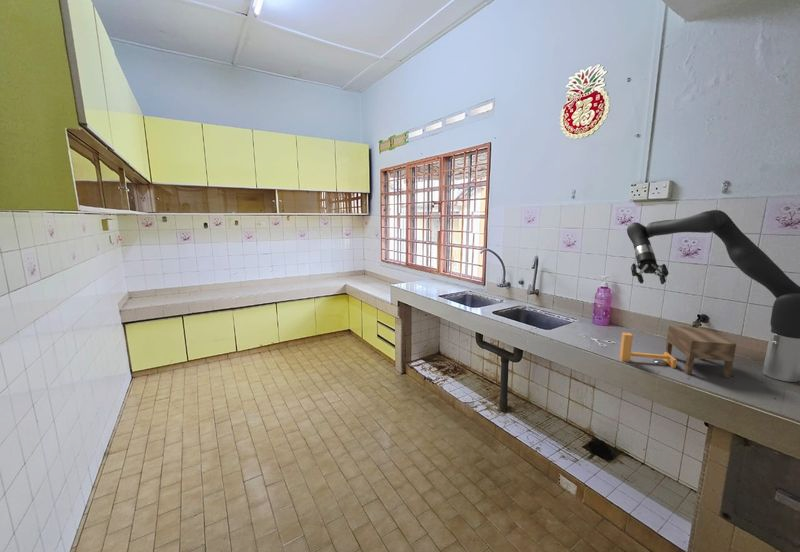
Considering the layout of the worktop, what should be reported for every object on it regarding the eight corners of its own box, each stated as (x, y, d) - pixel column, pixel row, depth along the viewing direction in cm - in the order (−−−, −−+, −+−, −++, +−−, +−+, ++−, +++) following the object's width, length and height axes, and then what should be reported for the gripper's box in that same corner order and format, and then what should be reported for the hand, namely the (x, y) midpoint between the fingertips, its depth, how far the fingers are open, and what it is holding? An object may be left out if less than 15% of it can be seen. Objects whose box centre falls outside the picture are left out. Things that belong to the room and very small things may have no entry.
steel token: (660, 360, 144) (660, 358, 144) (670, 365, 139) (670, 363, 139) (649, 361, 143) (649, 359, 143) (659, 366, 138) (660, 364, 138)
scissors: (607, 347, 157) (568, 334, 174) (607, 349, 157) (568, 335, 174) (620, 343, 162) (581, 330, 179) (619, 344, 162) (581, 332, 179)
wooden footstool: (702, 358, 144) (707, 328, 142) (730, 378, 127) (736, 344, 125) (664, 355, 148) (668, 325, 145) (686, 374, 131) (691, 341, 128)
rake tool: (666, 359, 144) (669, 333, 141) (675, 368, 136) (679, 340, 134) (617, 355, 149) (620, 330, 146) (623, 363, 141) (627, 337, 139)
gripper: (631, 250, 163) (638, 278, 154) (665, 251, 159) (674, 279, 150) (626, 260, 169) (632, 286, 160) (658, 260, 165) (666, 287, 156)
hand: (652, 283), depth 155 cm, fingers open, 8 cm apart
